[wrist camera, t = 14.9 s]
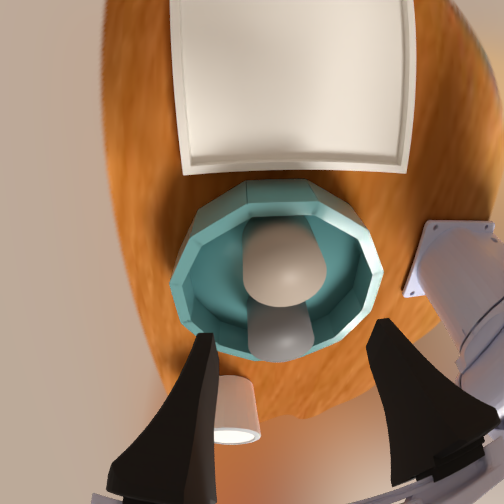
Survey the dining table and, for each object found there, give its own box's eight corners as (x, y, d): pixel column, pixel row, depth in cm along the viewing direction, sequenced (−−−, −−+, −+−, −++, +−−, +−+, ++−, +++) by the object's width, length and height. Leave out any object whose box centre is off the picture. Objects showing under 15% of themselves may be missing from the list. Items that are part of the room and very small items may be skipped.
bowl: (377, 180, 17) (401, 201, 14) (346, 322, 25) (355, 350, 22) (166, 185, 17) (151, 210, 14) (197, 331, 25) (193, 362, 22)
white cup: (269, 383, 31) (274, 435, 26) (235, 402, 34) (236, 448, 28) (222, 365, 29) (220, 424, 23) (191, 387, 32) (186, 437, 26)
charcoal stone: (277, 271, 20) (284, 312, 17) (316, 301, 22) (326, 340, 19) (234, 306, 22) (234, 346, 19) (274, 330, 24) (279, 368, 21)
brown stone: (276, 192, 17) (286, 224, 13) (325, 235, 19) (342, 272, 15) (227, 241, 19) (225, 281, 15) (277, 276, 20) (284, 317, 17)
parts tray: (402, -8, 9) (411, -12, 8) (397, 167, 17) (406, 173, 16) (174, -25, 9) (169, -31, 8) (186, 169, 17) (183, 175, 16)
